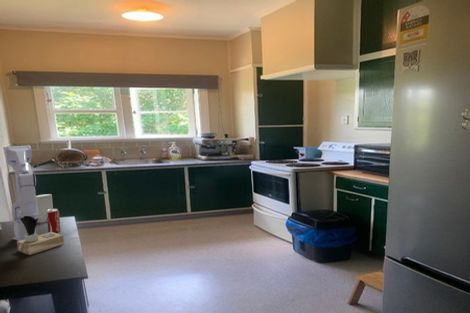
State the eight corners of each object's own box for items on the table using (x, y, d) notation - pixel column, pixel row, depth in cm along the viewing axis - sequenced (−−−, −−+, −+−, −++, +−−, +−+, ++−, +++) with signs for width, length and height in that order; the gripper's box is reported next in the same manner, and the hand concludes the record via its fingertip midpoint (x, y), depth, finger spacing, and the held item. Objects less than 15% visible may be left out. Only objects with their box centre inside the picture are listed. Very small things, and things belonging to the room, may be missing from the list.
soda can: (55, 235, 150) (52, 211, 149) (45, 235, 151) (43, 211, 150) (63, 232, 155) (61, 208, 154) (54, 231, 156) (52, 208, 155)
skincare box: (41, 223, 173) (38, 196, 171) (33, 222, 175) (31, 196, 174) (54, 219, 180) (52, 193, 179) (47, 218, 183) (45, 193, 181)
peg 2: (43, 244, 137) (42, 235, 137) (51, 242, 140) (50, 233, 140) (47, 246, 135) (46, 237, 135) (55, 243, 138) (55, 234, 138)
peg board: (17, 250, 132) (16, 241, 131) (51, 240, 143) (51, 231, 143) (29, 255, 126) (28, 245, 126) (63, 243, 138) (63, 235, 138)
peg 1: (25, 243, 131) (24, 234, 131) (34, 240, 134) (33, 231, 134) (29, 245, 129) (28, 235, 129) (38, 242, 132) (37, 233, 132)
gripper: (9, 202, 131) (12, 233, 132) (26, 205, 123) (29, 239, 124) (27, 198, 137) (30, 229, 138) (44, 201, 129) (47, 233, 130)
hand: (31, 233), depth 131 cm, fingers closed
